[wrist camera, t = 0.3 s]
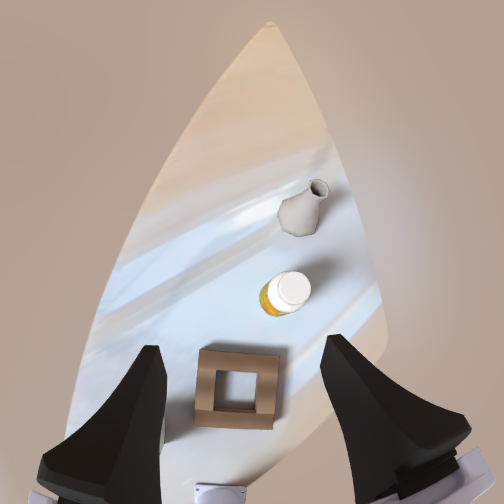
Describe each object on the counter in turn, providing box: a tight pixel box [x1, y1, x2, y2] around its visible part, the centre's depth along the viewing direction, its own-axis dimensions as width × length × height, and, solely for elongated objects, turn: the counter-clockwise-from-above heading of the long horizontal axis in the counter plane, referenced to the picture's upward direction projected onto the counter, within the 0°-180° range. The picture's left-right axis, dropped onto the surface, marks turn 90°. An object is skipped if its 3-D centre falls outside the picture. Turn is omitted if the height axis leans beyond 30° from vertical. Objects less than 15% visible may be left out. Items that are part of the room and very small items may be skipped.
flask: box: [277, 179, 329, 237], centre depth 43 cm, size 7×7×10 cm
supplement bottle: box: [259, 271, 311, 317], centre depth 38 cm, size 5×5×10 cm
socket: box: [194, 349, 279, 430], centre depth 36 cm, size 11×11×2 cm
